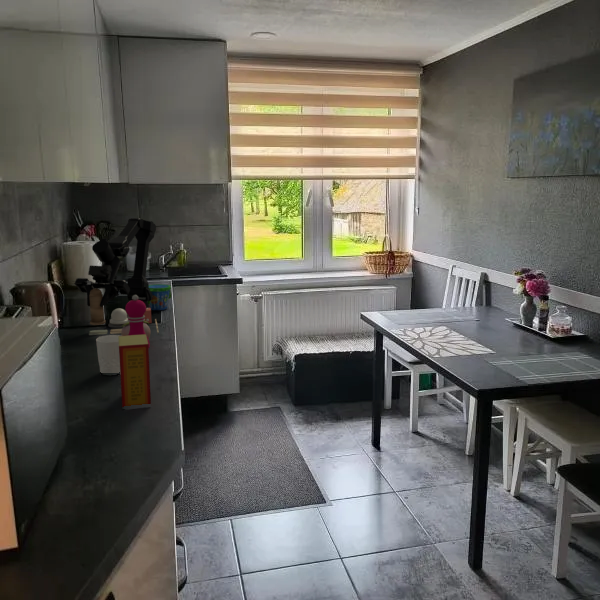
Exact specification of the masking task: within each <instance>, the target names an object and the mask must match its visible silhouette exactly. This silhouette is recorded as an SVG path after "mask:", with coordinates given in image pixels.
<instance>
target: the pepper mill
mask: <svg viewBox="0 0 600 600" xmlns="http://www.w3.org/2000/svg"><path fill="white" fill-rule="evenodd" d="M132 299H133V300H128V302H127V303H126V304H125V309H124V310H125V311H126V313H127V318H128V321H129V323H130V331H129V334H128V335H140V334H146V333H145V331H144V327H143V322H144V320H145V318H144V317H145V316H144V313H145V312H146V305H145V303H144V302H143V301H141V300H138V296H137V295H133V297H132ZM146 336H147V335H146ZM149 339H150V338H149ZM149 339H148V337H147V341H148V347H149V348H150V346H151V344H150V340H149Z"/></svg>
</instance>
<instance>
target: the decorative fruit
mask: <svg viewBox="0 0 600 600" xmlns="http://www.w3.org/2000/svg"><path fill="white" fill-rule="evenodd" d="M149 325H150V323H148V322H147V321H144V322H143V327H144V331H145V333H146V335H147V337H148V339H150V337H151V328H150V326H149ZM123 326H124V327H123ZM122 327H123V328H121V329H122V331H121V333H120V335H122V336H126V335H128V334H129V331H130V323H129V322H127V323H125V324H124V325H122Z"/></svg>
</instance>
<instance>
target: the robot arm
mask: <svg viewBox="0 0 600 600" xmlns="http://www.w3.org/2000/svg"><path fill="white" fill-rule="evenodd" d="M156 231H157V225H156V224H155V223H154V222H153V221H152V220H146V219H143V218H140V217H138V218H137V217H130V218H128V220H127V224H126V225H125V226H124V227H123V228H122V230H121V231H120V233H119V234H118V235H117V236H116V237H114V238H111V239H110V240H109V241H108V238H106V237H105V238H100V240H97V241H96V242H95V243H94V244H92V247H91V248H92V251H93V253H94V254H95V256H96V258H97V259H98V260H99V262H101V263H102V264H101V265H89V268H88V273H87V275H88V276H91V277H92V280H93V281H92V280H89V278H87V277H86V278H85V277H84V278H83V277H77V278H76V279H75V281H74V285H75V287H76V288H77V289H78V290H79V292H81V293H82V294H83V293H84V294H86V305H87V307H90V298H89V295H90V291H91V290H92V289H94V288H97V289H100V290H102V289H103V290H104V293H103V298H102V300H101V303H100V306H101V307H104V306H105V305H107V304H108V303H109V302H110V301H112V300H113V299H114V298H116V297H118V296H120V295H125V296H127V299H128V301H131V300H133V299H132V297H133V295H137V296H138V300H141V301H143V302H144V303H145V305H146V308H149V304H148V301H151V300H152V298H153V297H152V296H153V294H152V292H151V291H150V289H149V285H150V284H149V281H148V279H147V276H146V275H147V267H148V266H147V265H148V257H149V249H150V243H151V242H152V241H153V239H154V238H155V234H156ZM134 238H135V239H136V249H135V255H134V256H135V257H134V264H133V265H134V267H133V274H132V276H131V277H128V278H127V281H126V280H125V279H118V276H117V274H118V270H119V268H123V263H122V260H121V259H120V258H126V257H127V256H128V255H129V252H130V244H131V242H132V241H133V240H134Z"/></svg>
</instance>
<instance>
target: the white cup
mask: <svg viewBox="0 0 600 600" xmlns="http://www.w3.org/2000/svg"><path fill="white" fill-rule="evenodd" d="M118 336H122V335H121V334H105V335H102V336H98V337H97V338H96V339H95V341H96V351H97V359H98V360H97V361H98V365H99V373H100V372H101V373H119V372H120V358H119V338H118Z"/></svg>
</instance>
